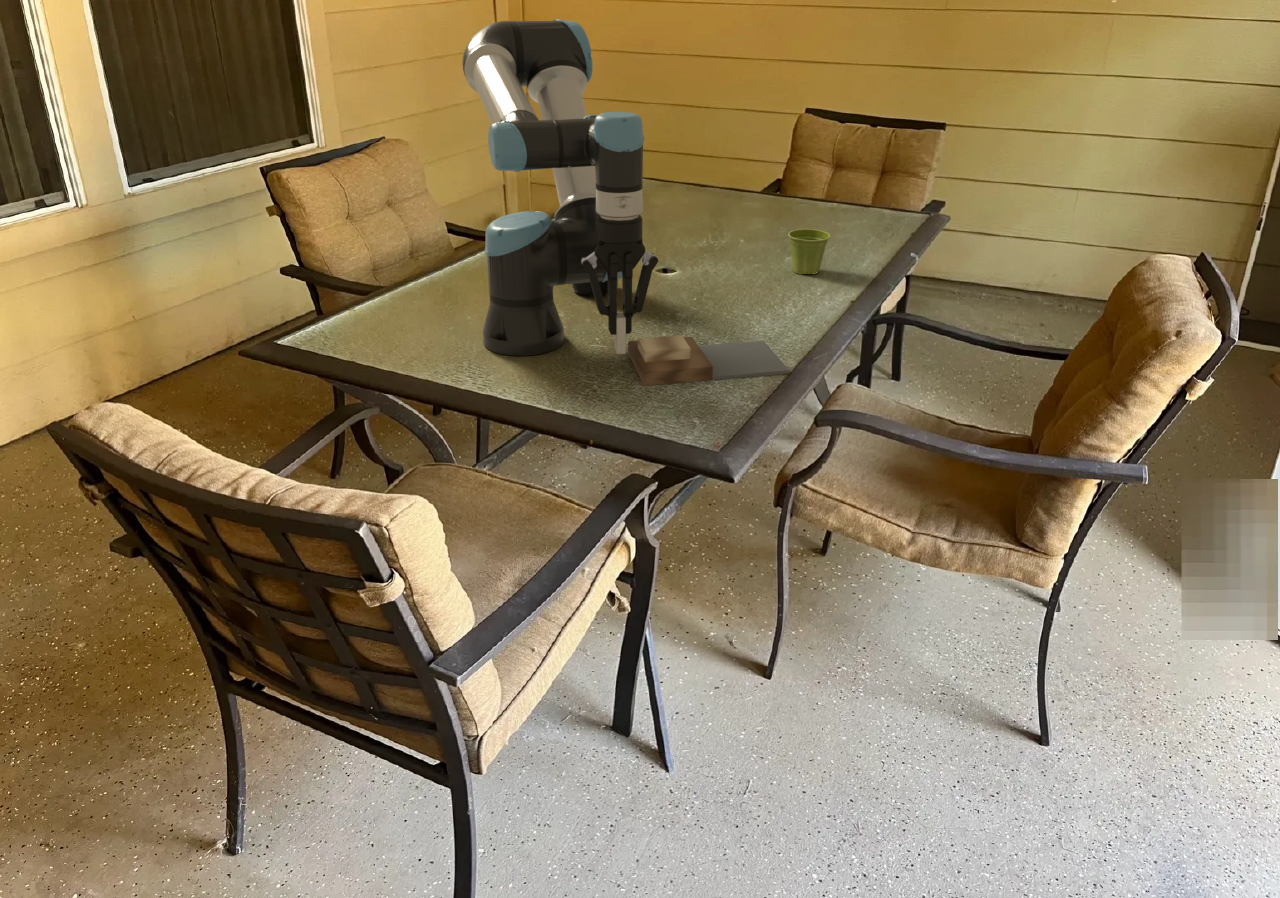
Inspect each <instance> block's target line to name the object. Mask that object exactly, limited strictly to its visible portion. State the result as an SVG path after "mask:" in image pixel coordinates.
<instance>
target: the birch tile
mask: <svg viewBox="0 0 1280 898" xmlns="http://www.w3.org/2000/svg"><path fill="white" fill-rule="evenodd" d="M683 337H684V336H682V335H671V336H658V337H657V336H656V337H645V338H644V337H643V338H637V341H638V350H639V352H640V354H641V356H642V357H643V359H644V361H645V362H656V361H668V360H681V359H690V347H689V345H688V344H687V342H686V341H685V339H684V338H683Z"/></svg>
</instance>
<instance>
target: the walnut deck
mask: <svg viewBox="0 0 1280 898" xmlns="http://www.w3.org/2000/svg"><path fill="white" fill-rule="evenodd" d="M682 337H683V338H684V339H685V341H686V342H687V344H688V345H689V347H690V359H681V360H668V361H656V362H645V361H644V359H643V357H642V356H641V354H640V352H639V350H638V340H629V341H627V355H628V357H629V359H630V361H631V363H632V365H633V367H634V368H635V370H636V372H637V373H638V376H639V378H640V380H641V382H642V383H643V385H644V386H654V385H667V384H678V383H679V384H680V383H681V384H682V383H689V382H690V383H692V382H703V381H713V380H712V377H713V366H712V364H711V363H710V362H709V360H708V359H707V357H706V356H705V354H704V353H703V352H702V350H701V349H700V347H699V346H700V345H699V344H698V343H697V341H695V339H694V338H693V336H682Z"/></svg>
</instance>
